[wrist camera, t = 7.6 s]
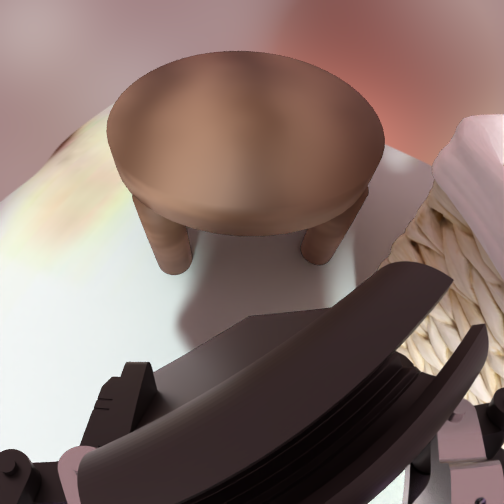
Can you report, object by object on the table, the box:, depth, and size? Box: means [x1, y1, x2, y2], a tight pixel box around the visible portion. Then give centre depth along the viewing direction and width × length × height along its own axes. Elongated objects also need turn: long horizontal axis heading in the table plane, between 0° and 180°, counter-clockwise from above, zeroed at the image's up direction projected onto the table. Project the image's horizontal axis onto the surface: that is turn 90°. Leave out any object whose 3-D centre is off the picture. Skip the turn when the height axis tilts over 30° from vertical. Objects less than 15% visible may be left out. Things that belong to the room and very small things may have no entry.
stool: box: [106, 51, 385, 275], centre depth 19 cm, size 16×16×9 cm
